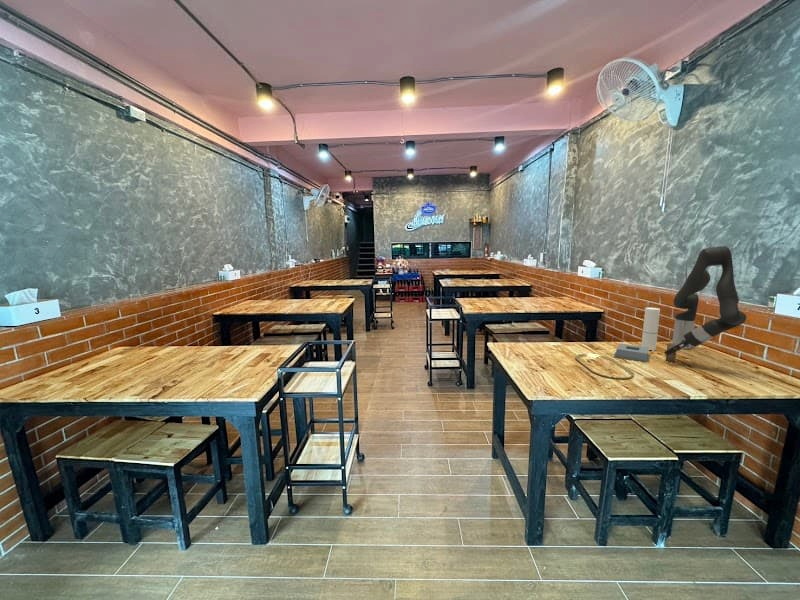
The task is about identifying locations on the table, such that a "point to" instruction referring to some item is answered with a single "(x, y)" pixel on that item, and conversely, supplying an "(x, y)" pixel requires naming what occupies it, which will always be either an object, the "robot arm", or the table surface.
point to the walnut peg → (672, 356)
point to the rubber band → (609, 360)
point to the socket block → (632, 353)
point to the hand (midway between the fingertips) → (668, 352)
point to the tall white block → (650, 328)
